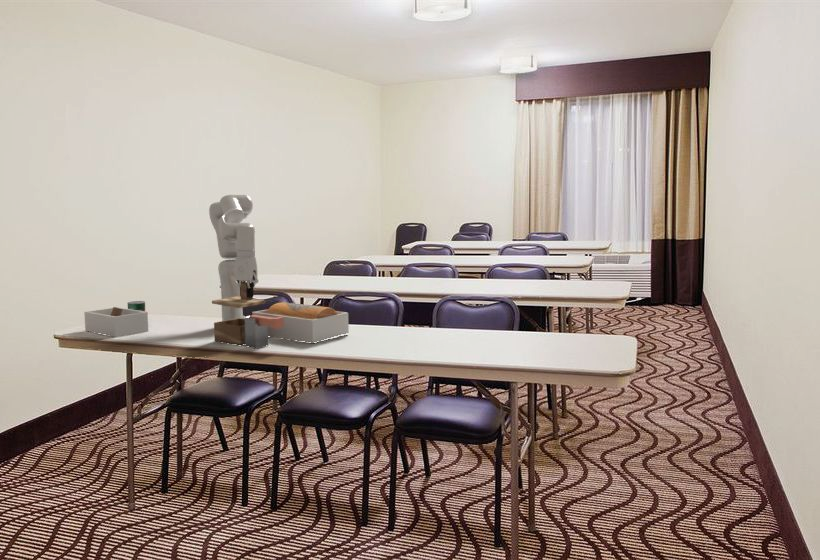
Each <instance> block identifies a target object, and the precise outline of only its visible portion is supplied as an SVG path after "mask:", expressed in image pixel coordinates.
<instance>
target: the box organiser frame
mask: <svg viewBox="0 0 820 560" xmlns="http://www.w3.org/2000/svg"><path fill="white" fill-rule="evenodd" d="M268 309H269V308H268ZM268 309H263V310H257V311H252V315H258V316H266V317H273V318H277V317H284V327H283V328H279V329H273V327H271V326H268V336H270V337H269V338H272V337H276V338H275V339H278V338H283V339H282V340H284V339H290V340H289V341H291V340H297V341H305V342H311V343H314V342H317V341H321V340H324V339H327V338H331V337H334V336H338V335H341V334H346V333H349V331H350V330H349V312H345V311H338V310H336V311H337V312H338V313H339V314H337V315H332V316H328V317H323V318H318V319H314V320H310V319H303V318H296V317H288V316H281V315H274V314H267V311H268ZM252 315H251V316H252ZM349 334H350V333H349ZM297 341H296V342H297Z"/></svg>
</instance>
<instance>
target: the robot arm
mask: <svg viewBox="0 0 820 560" xmlns="http://www.w3.org/2000/svg"><path fill="white" fill-rule="evenodd" d="M253 206H254V205H253V200H252V198H251V197H250V196H249V195H246V194H226V195H224V196H222V197H221V198H220V200H219V201H217V202H213V203H212V204H210V206H209V207H208V208H209V210H208V211H209V212H208V213H209V219H210V221H211V224H212V226H213V229H214V230H215V233H216V239H217V240H216V241H217V247H218V252H219V253H218V254H219V256H220V257H221V258H222V259H224V260H222V261H220V263H218V270H217V271H218V276H219V281H220V297H221V298H220V299H225V298H231V297H236V296H241V283H244V282H247V285H248V288H247V297H248V298H249V297H254V288H255V287H256V285H257V284H258V283H259V279H258V265H257V259H256V248H255V247H256V240H255V239H256V238H255V237H256V236H255V233H256V231H255V226H254V225H253V224H252V223H250V222H243V220H246V219H247V218H248V216H249V215H250V214H251V213H252V211H253ZM250 283H251V284H250ZM243 308H244V307H242V308H235V307H229V306H223V305H221V321H226V320H231V319H237V318H243V319H245V318H246V317H249V316H250V315H247V316H245V315H244V313H243Z"/></svg>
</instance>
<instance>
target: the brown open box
mask: <svg viewBox="0 0 820 560" xmlns="http://www.w3.org/2000/svg"><path fill="white" fill-rule="evenodd" d="M213 329H214V330H213V332H214V337H213V338H214V342H215V341H216V342H217V343H221V342H223V343H222V344H227V343H229V344H228V345H232V344H237V345H236V346H238V345H243V344H246V343H245V319H243V318H237V319H231V320H226V321H222V320H221V321H217V322H214V323H213ZM216 342H215V343H216ZM243 346H244V345H243Z"/></svg>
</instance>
